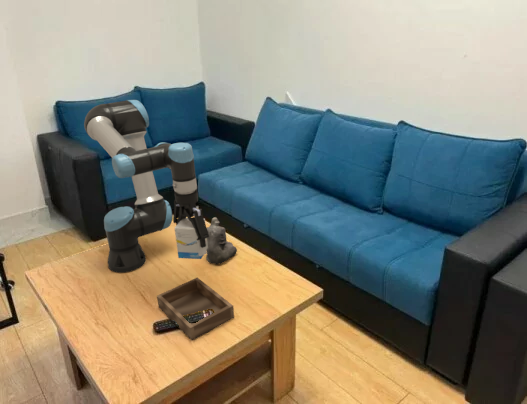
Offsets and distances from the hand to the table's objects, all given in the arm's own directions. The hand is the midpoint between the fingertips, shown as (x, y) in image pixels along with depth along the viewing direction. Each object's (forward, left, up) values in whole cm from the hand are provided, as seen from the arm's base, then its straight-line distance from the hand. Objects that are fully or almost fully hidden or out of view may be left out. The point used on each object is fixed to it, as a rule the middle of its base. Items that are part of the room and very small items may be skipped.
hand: (193, 248), depth 151 cm
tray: (+9, -7, -19) cm, 22 cm away
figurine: (-15, +20, -19) cm, 32 cm away
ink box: (0, 0, -2) cm, 2 cm away
